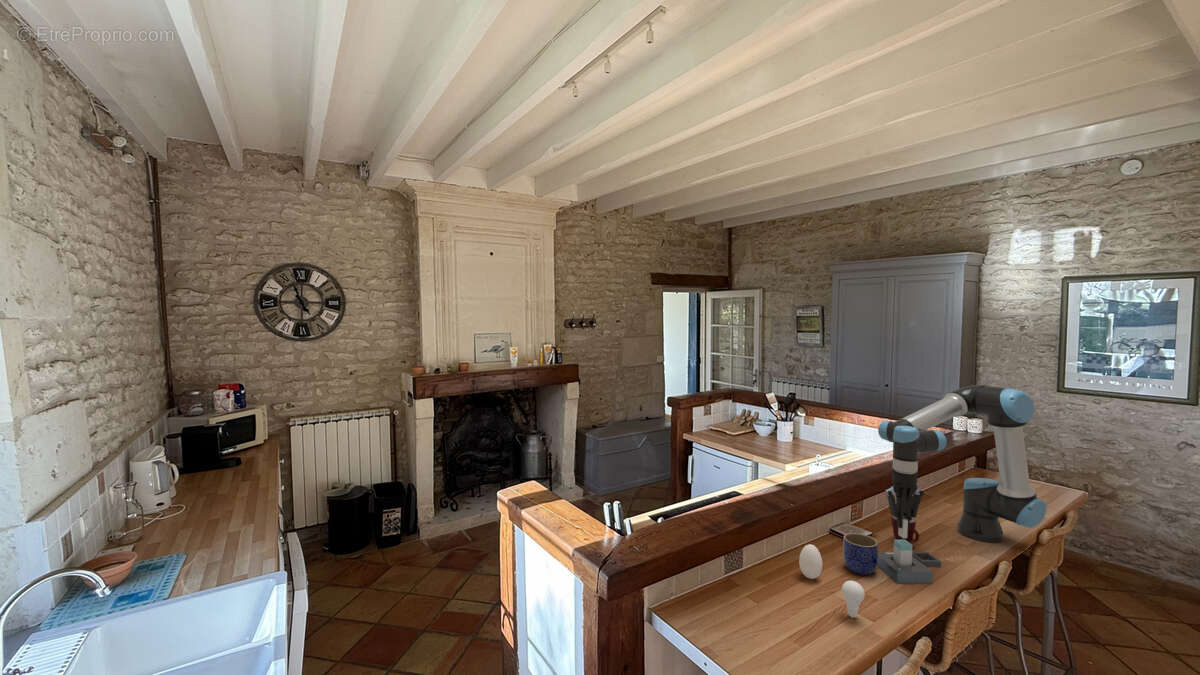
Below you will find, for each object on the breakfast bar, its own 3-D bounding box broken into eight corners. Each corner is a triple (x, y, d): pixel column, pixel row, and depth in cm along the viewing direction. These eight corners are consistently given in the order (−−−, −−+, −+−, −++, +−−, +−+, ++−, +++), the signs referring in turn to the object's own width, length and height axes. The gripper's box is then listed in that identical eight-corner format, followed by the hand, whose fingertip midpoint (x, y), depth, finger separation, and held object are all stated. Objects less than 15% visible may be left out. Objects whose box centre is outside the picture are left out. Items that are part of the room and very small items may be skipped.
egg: (796, 579, 168) (797, 546, 167) (801, 570, 174) (802, 538, 173) (819, 586, 164) (820, 552, 163) (823, 576, 170) (824, 543, 169)
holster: (927, 557, 183) (928, 552, 183) (941, 566, 176) (941, 561, 176) (909, 557, 183) (909, 552, 183) (921, 567, 176) (922, 561, 176)
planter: (873, 565, 177) (874, 535, 177) (880, 580, 167) (881, 548, 167) (840, 560, 181) (841, 530, 180) (845, 575, 171) (845, 544, 170)
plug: (904, 569, 174) (905, 539, 174) (911, 575, 170) (912, 544, 170) (893, 569, 174) (893, 539, 174) (900, 575, 170) (900, 544, 170)
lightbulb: (837, 611, 150) (837, 577, 149) (855, 610, 150) (856, 576, 150) (848, 624, 144) (849, 588, 143) (868, 623, 144) (869, 587, 144)
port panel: (906, 562, 179) (906, 550, 179) (932, 583, 165) (932, 570, 165) (873, 562, 179) (874, 551, 179) (897, 583, 165) (897, 571, 165)
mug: (926, 547, 190) (926, 522, 190) (912, 552, 187) (913, 526, 186) (899, 536, 200) (900, 512, 199) (886, 540, 196) (887, 516, 196)
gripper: (916, 467, 174) (914, 531, 175) (880, 467, 174) (878, 531, 175) (930, 474, 167) (928, 541, 168) (892, 474, 167) (890, 541, 168)
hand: (902, 536), depth 172 cm, fingers closed
